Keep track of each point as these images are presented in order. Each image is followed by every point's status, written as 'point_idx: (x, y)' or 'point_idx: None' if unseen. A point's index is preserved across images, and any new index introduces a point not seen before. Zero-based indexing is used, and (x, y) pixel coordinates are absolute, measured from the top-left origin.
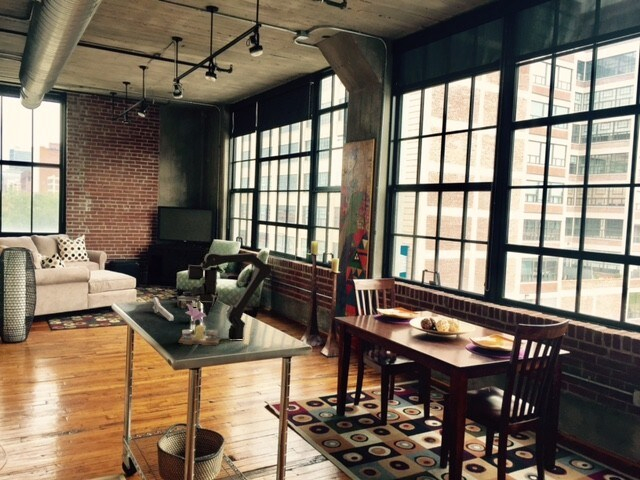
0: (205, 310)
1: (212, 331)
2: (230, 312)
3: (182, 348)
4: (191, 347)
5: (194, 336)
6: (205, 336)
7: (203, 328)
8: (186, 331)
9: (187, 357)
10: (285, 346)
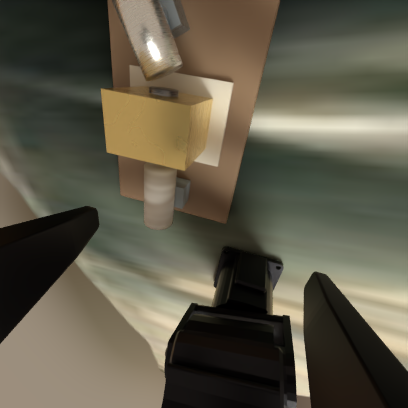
0: (16, 233)
1: (145, 198)
2: (166, 383)
3: (39, 17)
4: (72, 71)
5: (202, 80)
6: (207, 151)
7: (107, 150)
8: (113, 4)
9: None
10: (162, 347)
